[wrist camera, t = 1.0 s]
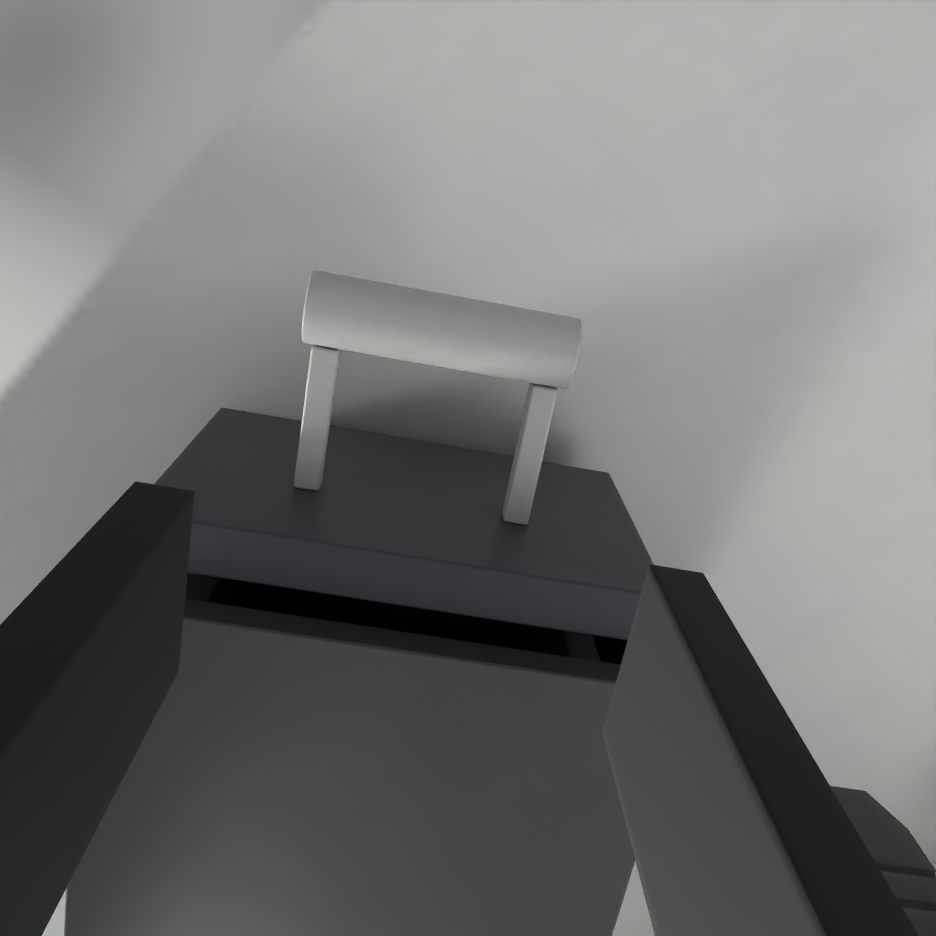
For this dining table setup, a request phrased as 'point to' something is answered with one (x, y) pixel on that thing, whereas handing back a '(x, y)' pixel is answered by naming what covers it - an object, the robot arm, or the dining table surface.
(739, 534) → the dining table surface
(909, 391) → the dining table surface
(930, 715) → the dining table surface
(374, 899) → the grey drawer box
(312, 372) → the pulled-out drawer
